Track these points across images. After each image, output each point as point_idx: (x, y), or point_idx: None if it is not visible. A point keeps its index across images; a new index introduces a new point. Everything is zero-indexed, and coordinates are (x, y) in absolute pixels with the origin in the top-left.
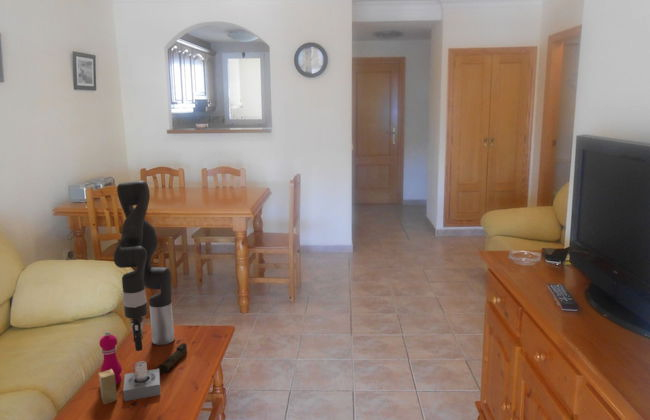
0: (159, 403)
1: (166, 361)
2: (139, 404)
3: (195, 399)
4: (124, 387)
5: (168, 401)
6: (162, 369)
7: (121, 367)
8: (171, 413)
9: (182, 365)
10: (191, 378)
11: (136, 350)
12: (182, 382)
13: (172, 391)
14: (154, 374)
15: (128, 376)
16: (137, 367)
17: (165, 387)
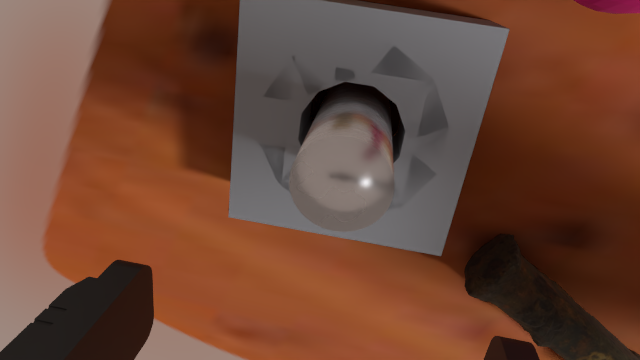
0: (166, 165)
1: (531, 307)
2: (193, 69)
3: None
4: (288, 2)
5: (170, 206)
6: (485, 259)
7: (617, 12)
8: (63, 195)
9: None
10: (340, 338)
11: (118, 266)
12: (323, 299)
13: (257, 242)
14: None
15: (450, 51)
16: (301, 151)
17: None
